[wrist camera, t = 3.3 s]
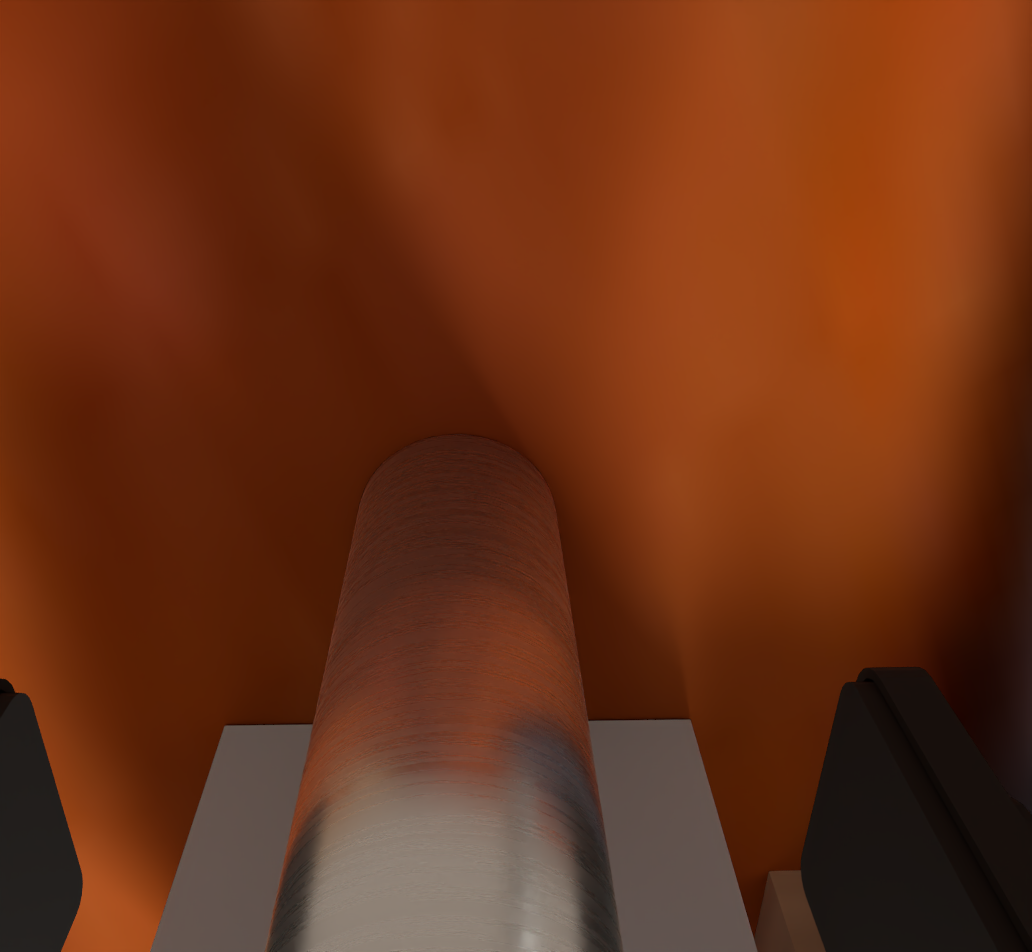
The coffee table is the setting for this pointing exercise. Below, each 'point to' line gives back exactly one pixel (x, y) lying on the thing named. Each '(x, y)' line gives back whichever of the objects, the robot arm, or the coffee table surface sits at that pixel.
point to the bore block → (626, 814)
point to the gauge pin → (450, 729)
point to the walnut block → (786, 916)
